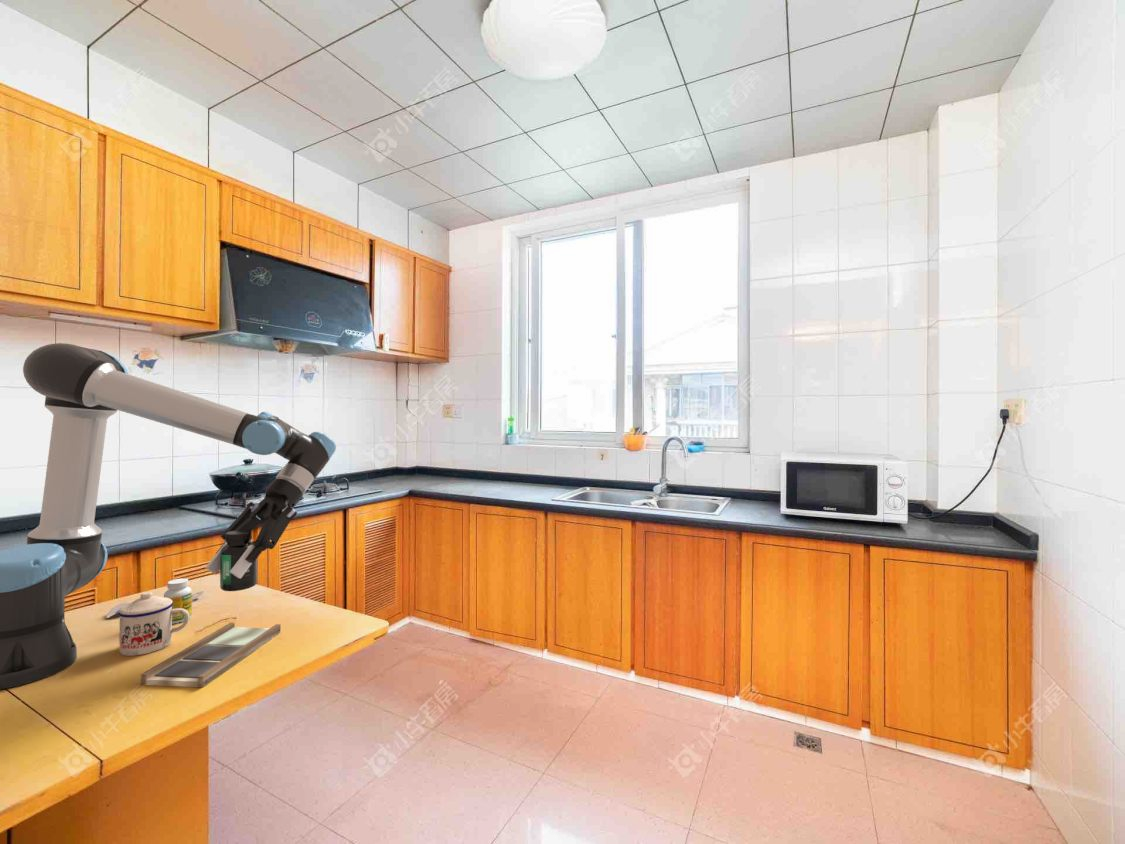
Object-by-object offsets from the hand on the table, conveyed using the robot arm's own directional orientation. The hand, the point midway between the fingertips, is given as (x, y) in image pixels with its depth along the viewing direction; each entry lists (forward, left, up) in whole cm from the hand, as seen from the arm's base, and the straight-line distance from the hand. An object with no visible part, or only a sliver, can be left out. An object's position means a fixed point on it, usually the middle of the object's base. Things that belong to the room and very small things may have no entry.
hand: (222, 572), depth 105 cm
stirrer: (-34, +21, -17) cm, 44 cm away
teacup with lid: (-16, +1, -17) cm, 23 cm away
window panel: (+1, -2, -17) cm, 17 cm away
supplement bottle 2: (+1, +3, -4) cm, 6 cm away
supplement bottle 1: (-22, +14, -17) cm, 31 cm away
